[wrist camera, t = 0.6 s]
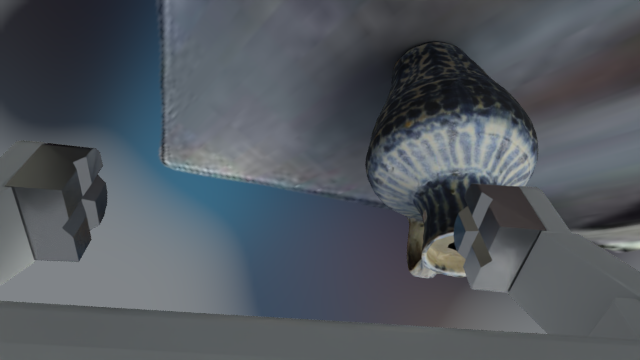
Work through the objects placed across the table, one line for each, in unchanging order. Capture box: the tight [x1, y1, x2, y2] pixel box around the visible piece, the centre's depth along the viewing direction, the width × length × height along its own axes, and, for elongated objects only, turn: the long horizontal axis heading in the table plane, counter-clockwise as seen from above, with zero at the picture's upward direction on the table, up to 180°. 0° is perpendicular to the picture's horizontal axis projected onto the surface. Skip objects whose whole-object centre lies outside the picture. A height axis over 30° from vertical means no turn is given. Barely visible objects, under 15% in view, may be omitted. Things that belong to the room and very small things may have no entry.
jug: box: [365, 42, 538, 278], centre depth 57 cm, size 21×19×30 cm
